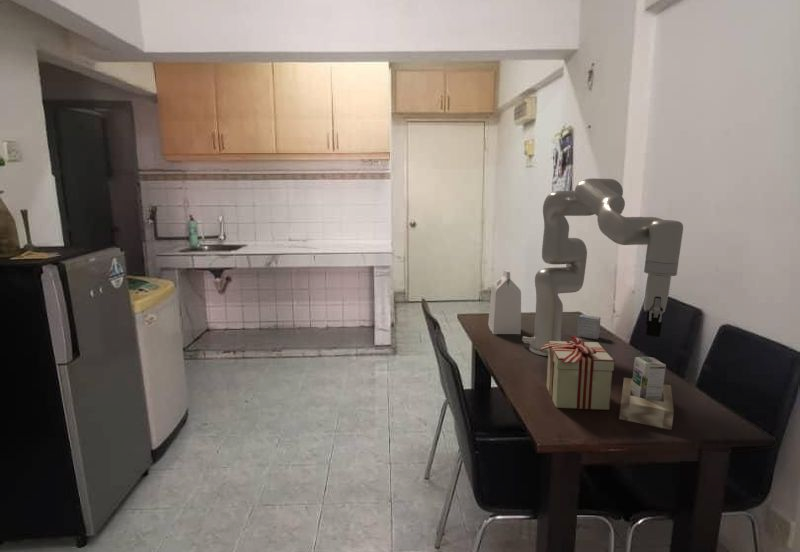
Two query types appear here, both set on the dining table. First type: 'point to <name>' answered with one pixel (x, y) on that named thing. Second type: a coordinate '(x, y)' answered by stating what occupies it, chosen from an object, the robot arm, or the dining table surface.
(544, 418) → the dining table surface
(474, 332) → the dining table surface
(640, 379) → the syrup box
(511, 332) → the milk
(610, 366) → the gift box
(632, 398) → the socket block
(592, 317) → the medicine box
